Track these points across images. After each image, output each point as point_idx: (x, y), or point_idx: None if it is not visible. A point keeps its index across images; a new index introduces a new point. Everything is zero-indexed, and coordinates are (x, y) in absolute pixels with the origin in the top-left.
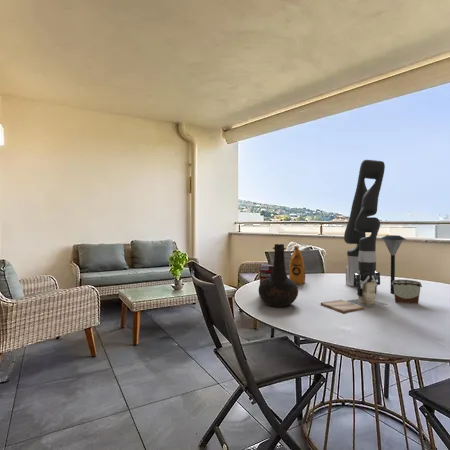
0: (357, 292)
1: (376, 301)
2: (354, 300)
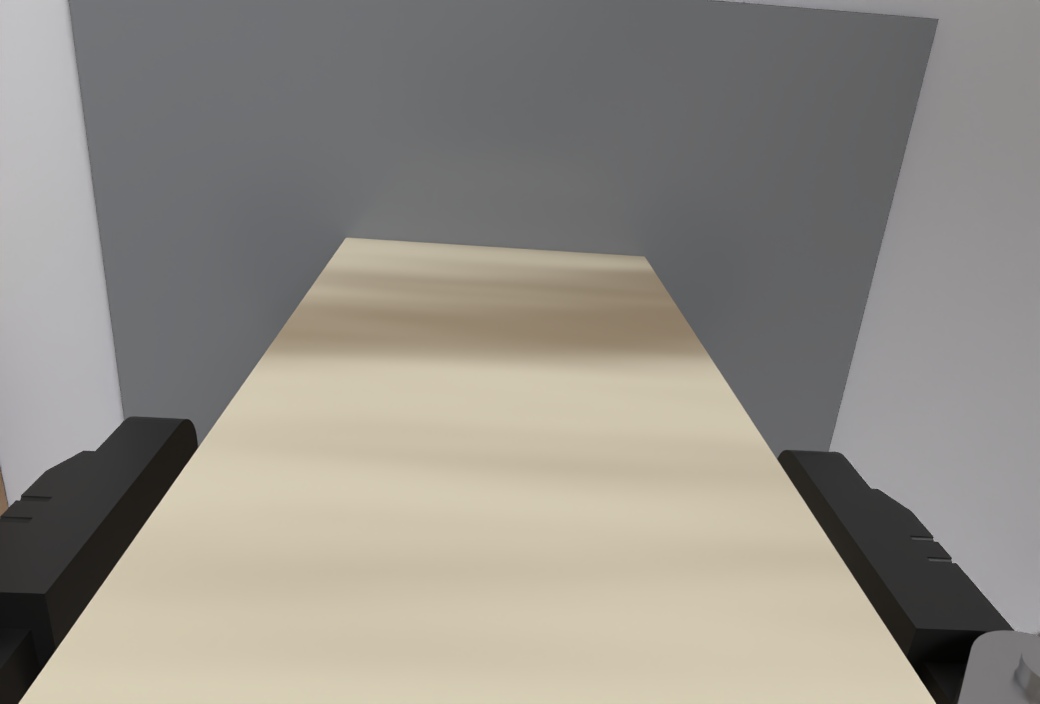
0: (16, 508)
1: (792, 421)
2: (367, 58)
